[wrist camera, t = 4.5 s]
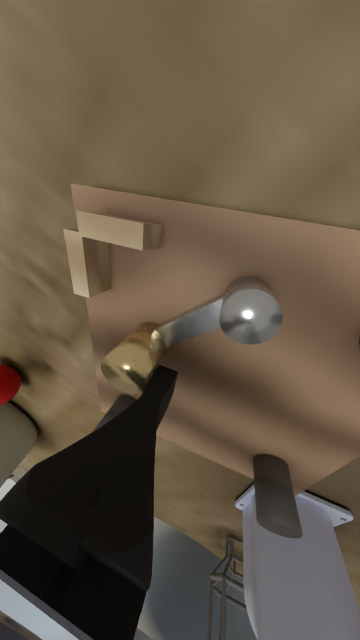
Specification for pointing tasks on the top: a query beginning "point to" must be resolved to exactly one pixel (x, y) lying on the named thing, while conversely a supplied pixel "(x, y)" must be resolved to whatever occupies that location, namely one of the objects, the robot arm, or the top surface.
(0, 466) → the canister
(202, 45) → the top surface
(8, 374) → the molecular model
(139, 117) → the top surface
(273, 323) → the metal crank handle
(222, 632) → the geometric lantern
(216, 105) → the top surface
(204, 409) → the wooden board with pegs
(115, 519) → the robot arm
